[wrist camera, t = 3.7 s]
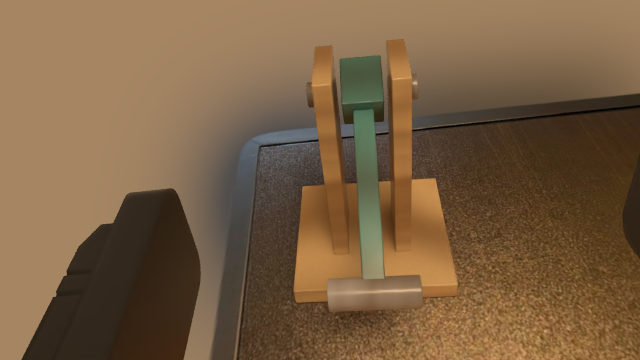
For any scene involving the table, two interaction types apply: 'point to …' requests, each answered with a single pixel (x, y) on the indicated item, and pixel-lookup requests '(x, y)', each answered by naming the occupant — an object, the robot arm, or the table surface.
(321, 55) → the rod stand
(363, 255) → the cylinder
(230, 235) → the table surface
